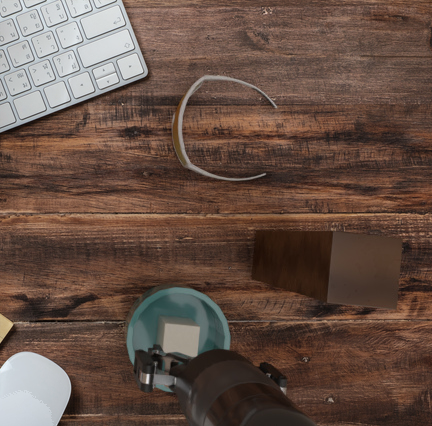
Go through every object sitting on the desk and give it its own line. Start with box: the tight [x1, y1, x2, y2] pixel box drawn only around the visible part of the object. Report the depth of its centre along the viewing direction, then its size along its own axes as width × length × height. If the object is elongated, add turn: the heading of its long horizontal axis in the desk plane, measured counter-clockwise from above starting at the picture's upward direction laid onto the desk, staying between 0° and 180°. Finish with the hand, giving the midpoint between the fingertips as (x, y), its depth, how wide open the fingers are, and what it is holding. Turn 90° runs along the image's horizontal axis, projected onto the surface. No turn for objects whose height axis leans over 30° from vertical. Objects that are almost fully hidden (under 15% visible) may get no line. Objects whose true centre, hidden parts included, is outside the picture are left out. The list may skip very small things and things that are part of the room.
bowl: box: [123, 282, 232, 393], centre depth 65 cm, size 14×14×5 cm
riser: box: [251, 229, 404, 311], centre depth 58 cm, size 7×7×22 cm
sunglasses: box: [171, 74, 278, 182], centre depth 67 cm, size 14×15×5 cm
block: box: [156, 315, 200, 357], centre depth 64 cm, size 4×4×6 cm
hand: (192, 356), depth 54 cm, fingers open, 8 cm apart
